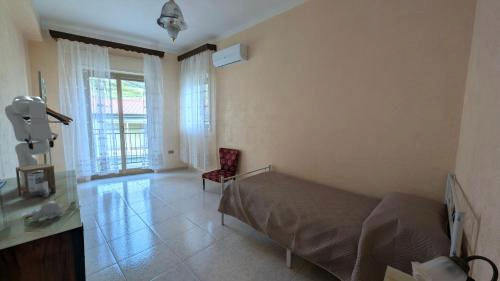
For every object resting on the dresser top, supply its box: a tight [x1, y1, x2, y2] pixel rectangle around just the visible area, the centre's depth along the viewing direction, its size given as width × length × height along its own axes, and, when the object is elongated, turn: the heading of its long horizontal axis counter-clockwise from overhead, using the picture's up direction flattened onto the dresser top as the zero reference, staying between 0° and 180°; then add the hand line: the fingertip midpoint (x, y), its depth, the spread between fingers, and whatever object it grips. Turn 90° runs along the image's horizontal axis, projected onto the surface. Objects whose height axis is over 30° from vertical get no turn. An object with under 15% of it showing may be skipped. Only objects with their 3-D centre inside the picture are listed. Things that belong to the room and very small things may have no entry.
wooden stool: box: [15, 162, 57, 200], centre depth 140 cm, size 14×14×18 cm
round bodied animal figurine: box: [28, 200, 63, 223], centre depth 108 cm, size 7×12×8 cm, turn 127°
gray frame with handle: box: [23, 181, 52, 199], centre depth 139 cm, size 19×10×10 cm, turn 62°
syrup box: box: [27, 171, 45, 192], centre depth 141 cm, size 6×6×14 cm
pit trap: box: [16, 187, 26, 195], centre depth 147 cm, size 10×10×2 cm
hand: (41, 148), depth 136 cm, fingers open, 9 cm apart
